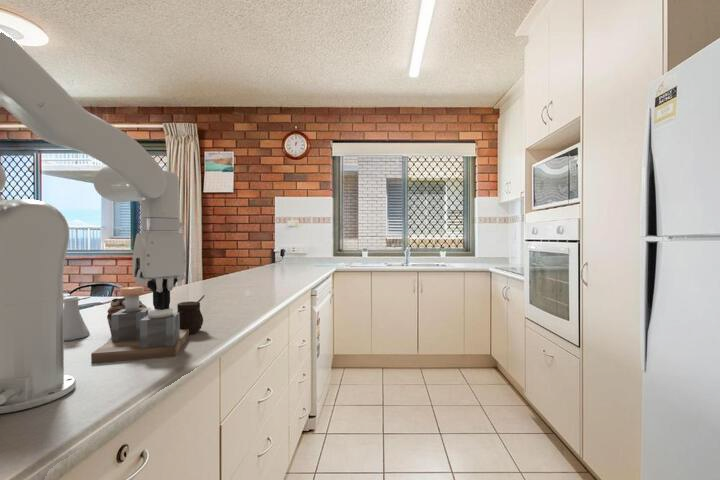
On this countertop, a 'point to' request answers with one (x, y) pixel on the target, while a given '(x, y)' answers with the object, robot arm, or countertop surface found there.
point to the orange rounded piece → (131, 298)
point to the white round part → (160, 313)
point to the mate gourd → (190, 316)
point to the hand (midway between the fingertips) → (161, 308)
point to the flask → (73, 320)
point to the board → (141, 337)
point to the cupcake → (118, 308)
